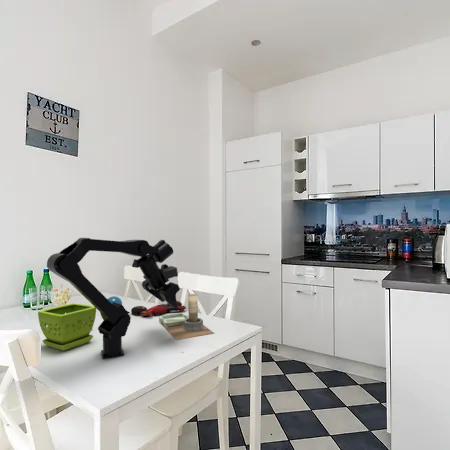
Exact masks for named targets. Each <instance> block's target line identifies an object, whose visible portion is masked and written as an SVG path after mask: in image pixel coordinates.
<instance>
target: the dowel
mask: <svg viewBox="0 0 450 450" xmlns="http://www.w3.org/2000/svg"><path fill="white" fill-rule="evenodd" d="M187 297H188V298H187V299H188V300H187V301H188V304H187V305H188V306H187V307H188V312H187V313H188V317H189V322H190V323H195V322H198V318H199V314H198V309H199V306H198V305H199V304H198V301H199V300H198V298H199V297H198V294H197V293H190V294H188V295H187Z"/></svg>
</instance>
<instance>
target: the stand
mask: <svg viewBox="0 0 450 450" xmlns="http://www.w3.org/2000/svg"><path fill="white" fill-rule="evenodd" d="M158 322H159V324H160V325H161V326H162V327H163V328H164V330H165V331H167V332H168V334H169V335H170V336H171V337H172V338H173V339H174V340H175V341H180V340H185V339H186V340H187V339H192V338H198V337H202V336H209V335H214V334H215V332H213V331H212V330H211V329H209V327H207V326H206V325H205V324H204V319H203V318H201V317H198V322H195V323H190V322H189V315H187V314H186V313H185V312H182V313H175V314H166V315H158Z"/></svg>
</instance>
